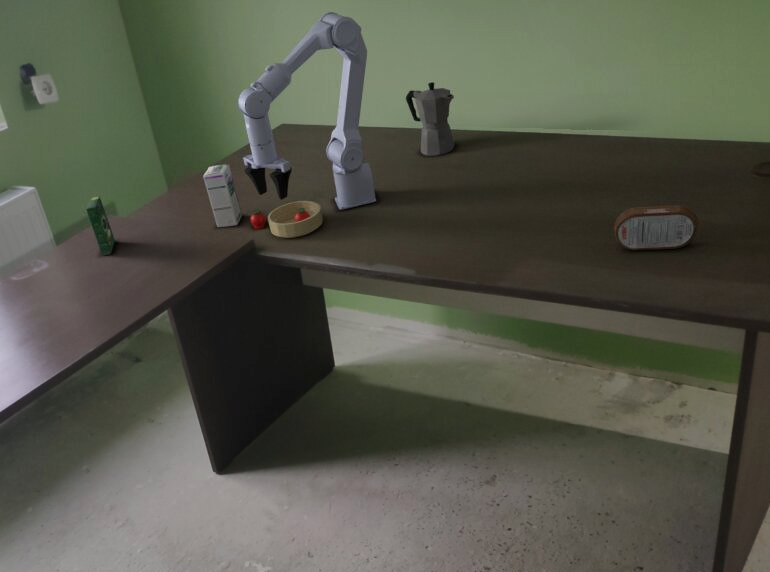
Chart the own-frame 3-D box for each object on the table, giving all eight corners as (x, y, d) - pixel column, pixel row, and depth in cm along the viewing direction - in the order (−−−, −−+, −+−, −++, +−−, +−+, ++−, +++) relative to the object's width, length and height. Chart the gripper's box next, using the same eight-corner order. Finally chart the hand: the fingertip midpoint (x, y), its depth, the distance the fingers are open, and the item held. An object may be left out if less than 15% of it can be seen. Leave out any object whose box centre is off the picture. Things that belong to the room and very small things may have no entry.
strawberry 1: (261, 221, 223) (258, 206, 220) (269, 225, 220) (266, 209, 218) (249, 227, 221) (246, 212, 219) (258, 231, 219) (254, 215, 216)
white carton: (237, 225, 224) (224, 171, 216) (216, 228, 226) (202, 174, 217) (242, 216, 228) (229, 163, 220) (221, 218, 230) (207, 166, 222)
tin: (695, 242, 170) (699, 202, 165) (696, 249, 168) (700, 209, 163) (613, 245, 176) (614, 207, 171) (613, 253, 174) (614, 214, 169)
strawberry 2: (310, 220, 215) (307, 205, 213) (312, 226, 212) (309, 211, 210) (295, 224, 215) (292, 209, 213) (297, 230, 212) (294, 214, 210)
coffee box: (105, 242, 233) (89, 197, 226) (115, 240, 233) (100, 194, 225) (101, 255, 227) (84, 209, 219) (111, 253, 227) (95, 206, 219)
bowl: (319, 211, 221) (316, 196, 218) (326, 231, 210) (324, 216, 208) (268, 223, 221) (265, 208, 219) (273, 244, 210) (270, 229, 208)
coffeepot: (467, 145, 235) (462, 77, 224) (447, 158, 230) (441, 90, 220) (422, 140, 245) (415, 75, 234) (401, 153, 240) (393, 87, 230)
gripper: (229, 144, 208) (242, 197, 216) (269, 151, 198) (281, 206, 206) (251, 133, 211) (262, 186, 219) (291, 139, 201) (302, 194, 209)
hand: (273, 195), depth 213 cm, fingers open, 7 cm apart
